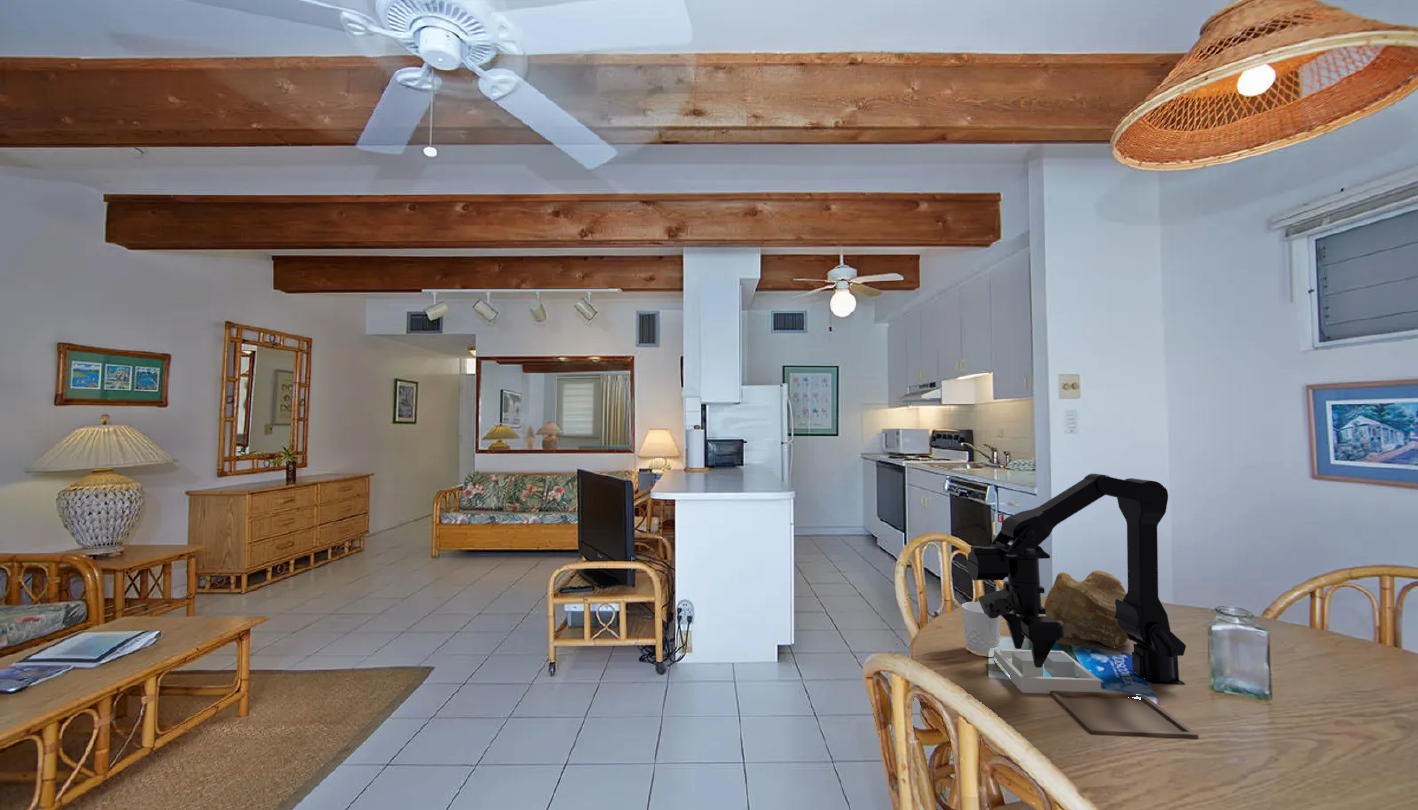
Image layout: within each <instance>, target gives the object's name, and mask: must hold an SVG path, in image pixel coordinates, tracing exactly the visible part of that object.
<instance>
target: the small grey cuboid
mask: <svg viewBox="0 0 1418 810" xmlns="http://www.w3.org/2000/svg"><path fill="white" fill-rule="evenodd" d="M1012 665H1013V666H1014V667H1015V668H1016V669H1017V670H1018V671H1019V672H1020V673H1021V674H1022V675H1023V676H1032V677H1043V665H1042V667H1041V668H1037V667H1035V665H1034V661H1033V656H1032V653H1012Z"/></svg>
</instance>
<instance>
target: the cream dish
mask: <svg viewBox="0 0 1418 810" xmlns="http://www.w3.org/2000/svg"><path fill="white" fill-rule="evenodd" d="M1012 653H1032V651H1031V649H1006V648H1005V649H1004V648H1003V649H1000V648H999V649H994V657H995V658H996V659H997V661H998V662H999V663H1000V664H1001V665H1002V667H1003V668H1004V669H1005V670H1006V671H1007V672H1008V674H1009V675H1010V678H1011V680H1012V681H1011V680H1010V681H1011V682H1012V683H1013V685H1015V687H1016V686H1017V687H1018V688H1017V687H1016V688H1017V689H1018V690H1019V691H1020V692H1021V693H1022V694H1024V693H1025V694H1049V695H1051V694H1050V691H1074V692H1102V683H1101V682H1102V680H1101V679H1100V678H1098V677H1097V676H1096V675H1095V674H1094V673H1092V672H1090V671H1089V670H1088V669H1087V668H1085V667H1084V666H1083V665H1082V664H1081V663H1079V662H1078V661H1077V660H1075V658H1073V657H1071V656H1070V655H1069V653H1066V651H1064V650H1051V651H1050V652H1049V653H1050V654H1065V655H1066V656H1068V657H1069V658H1070V659H1071V660H1073V661H1074V663H1075V672H1076V674H1078V676H1079V677H1081V678H1065V677H1032V676H1023V675H1022V674H1021V673H1020V672H1019V671H1018V670H1017V669H1016V668H1015V667H1014V666H1013V665H1012V664H1011V663H1010V662H1009V661H1008V659H1010V658H1012ZM994 657H993V658H994ZM1007 658H1008V659H1007Z"/></svg>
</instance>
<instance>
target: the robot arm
mask: <svg viewBox="0 0 1418 810" xmlns="http://www.w3.org/2000/svg"><path fill="white" fill-rule="evenodd" d="M1105 496H1109V497H1112V498H1113V497H1114V498H1117V505H1118V508H1119V510H1120V512H1121V514H1122V516H1123V517H1124V519H1125V521H1126V547H1127V548H1126V549H1127V552H1126V553H1127V559H1126V560H1127V562H1126V563H1127V592H1126V596H1125V597H1124V599H1123V600H1120V599H1116V600H1115V605H1116V614H1115V617H1114V618H1116V619H1118V624H1119V626H1120V627H1121V628H1122V629H1123V630H1124V631H1125V632H1126V634H1127V637H1128V639H1127V640H1129V641H1132V642H1134V643H1133V651H1132V652H1131V663H1132V664H1131V667H1132V668H1131V669H1133V671H1134V672H1136V673H1137V674H1138V675H1139V676H1140V677H1139V676H1138V675H1137V676H1138V677H1139V678H1141V677H1142V678H1145V680H1146V682H1147V683H1149V684H1153V685H1180V686H1183V685H1186V683H1185V682H1184V681H1183V680H1182V679H1180V673H1179V672H1180V670H1179V656H1180V657H1182V656H1184V655H1185V652H1186V647H1187V645H1186V643H1184V642H1183V641H1182V640H1181V639H1180V638H1179V637H1178V636H1176V635H1175V634H1174V633H1173V632H1172V631H1171V626H1170V621H1169V617H1168V614H1167V611H1166V609H1165V608H1164V605H1163V603H1162V602H1161V600H1160V596H1159V556H1158V555H1159V553H1158V551H1159V550H1158V549H1159V548H1158V547H1159V545H1158V544H1159V543H1158V542H1159V541H1158V525H1159V523H1160V522H1161V520H1162V519H1163V517H1164V516H1165V514H1166V512H1167V508H1168V501H1169V492H1168V490H1167V488H1166V487H1165V486H1164V485H1163V484H1162V483H1160V482H1158V481H1155V480H1149V479H1139V478H1132V477H1131V478H1126V479H1121V478H1116V477H1111V476H1109V475H1106V474H1101V473H1089V474H1088V475H1085V477H1084V478H1083V479H1081V480H1080V481H1078V482H1076V483H1075V484H1074V485H1072V486H1070V487H1069V488H1067V489H1064V491H1062V492H1061V493H1059V494H1058V495H1055V496H1053V498H1051V499H1049V500H1048V501H1045V502H1044V503H1043V504H1041V505H1040V506H1037V507H1034V508H1033V509H1027V510H1023V511H1020V512H1017V513H1015V514H1012V515H1010V516H1008V517H1006V518H1005V519H1003V520H1002V522H1001V528H1000V530H999V532H998V534H997V535H996V536H995V538H994V539H993V540H992V541H991V543H990V546H978V545H971V546H970V552H968V555H967V559H966V569H967V570H966V571H967V573H968V575H969V577H970V580H972V581H1003V580H1004V583H1003V584H1002V586H1003V588H1002V589H999V590H995V591H992V592H988V593H986V594H983V595H980V596H978V598H977V600H978V602H980V604H981V607H982V609H983V611H984V613H985V614H986V615H988V617H989V618H997V617H998V616H1000V617H1002V618H1003V619H1004V620H1005V622H1006V625H1007V628H1008V631H1009V634H1010V637H1011V639H1012V643H1013V645H1014V646H1013V647H1014V648H1015V650H1022V647H1023V644H1024V641H1025V638H1027V640H1029V645H1030V646H1029V647H1030V650H1031V651H1032V656H1033V661H1034V665H1035V667H1037V668H1041V667H1042V665H1043V664H1044V662H1045V660H1046V658H1047V656H1048V654H1049V652H1050V651H1052V649H1053V648H1054V646H1055V644H1056V643H1057V641H1060V639H1063V638H1065V637H1064V630H1063V626H1061V625H1060V624H1059V623H1058V622H1057V621H1055V620H1054V619H1053V618H1051V617H1050V616H1046V609H1045V608H1044V606H1042V600H1041V599H1042V596H1041V594H1045V591H1046V590H1045V587H1043V586H1041V581H1040V580H1041V578H1040V577H1041V576H1040V575H1041V574H1040V560H1041V559H1045V560H1046V559H1050V558H1051V555H1050V554H1048V552H1046V551H1045V550H1044V549H1043V548H1042V546H1040V545H1041V544H1042V543H1043V542H1044V541H1045V540H1047V538H1049V537H1050V536H1051V534H1052V532H1053V530H1054V528H1055V527H1057V525H1059V524H1061V523H1062V522H1064V521H1066V520H1067V519H1069V518H1070V517H1072V516H1074V515H1075V514H1077V513H1078V512H1079V511H1081V510H1083V509H1085V508H1086V507H1089V506H1091V505H1092V504H1093V503H1095V502H1096V501H1097V500H1099V499H1101V498H1103V497H1105ZM1006 578H1007V581H1005V579H1006ZM1042 615H1043V616H1042ZM1142 678H1141V679H1142ZM1145 680H1144V681H1145Z"/></svg>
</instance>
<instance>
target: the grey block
mask: <svg viewBox="0 0 1418 810" xmlns="http://www.w3.org/2000/svg"><path fill="white" fill-rule="evenodd" d="M1044 669H1045V670H1046V671H1047V672H1048V673H1049V674H1050V675H1051V676H1052V677H1065V678H1075V663H1074V661H1073V660H1071V659H1070V658H1069V657H1068V656H1066V655H1065V654H1050V653H1049V654H1048V656H1047V658H1046V660H1045V662H1044Z"/></svg>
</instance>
